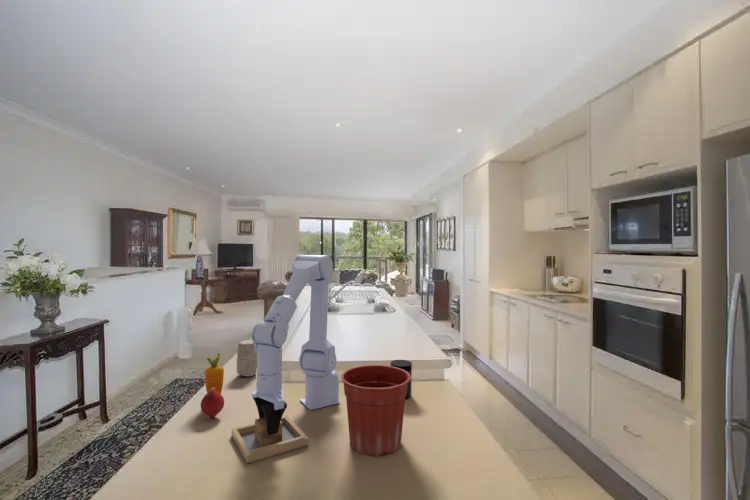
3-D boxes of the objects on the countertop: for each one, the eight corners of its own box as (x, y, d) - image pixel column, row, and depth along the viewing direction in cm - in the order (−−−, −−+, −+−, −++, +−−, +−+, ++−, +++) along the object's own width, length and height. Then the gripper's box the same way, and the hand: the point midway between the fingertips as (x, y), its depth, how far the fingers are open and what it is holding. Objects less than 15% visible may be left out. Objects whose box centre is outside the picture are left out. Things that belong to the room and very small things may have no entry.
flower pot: (331, 433, 96) (332, 368, 95) (391, 421, 102) (391, 361, 102) (354, 469, 80) (355, 392, 80) (422, 452, 87) (423, 382, 87)
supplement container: (413, 400, 116) (414, 366, 116) (391, 401, 115) (392, 366, 115) (409, 391, 123) (409, 359, 123) (388, 392, 122) (388, 359, 122)
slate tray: (286, 422, 101) (286, 413, 101) (308, 445, 89) (308, 436, 89) (231, 436, 93) (231, 427, 93) (247, 464, 82) (247, 453, 82)
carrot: (205, 410, 108) (205, 357, 107) (204, 403, 112) (204, 352, 112) (224, 407, 110) (224, 354, 110) (222, 400, 114) (222, 350, 114)
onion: (215, 423, 100) (215, 393, 100) (195, 421, 101) (195, 391, 101) (228, 414, 106) (228, 385, 105) (209, 412, 107) (209, 383, 107)
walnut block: (275, 432, 95) (275, 414, 95) (282, 441, 91) (282, 422, 91) (254, 438, 92) (254, 419, 92) (261, 447, 88) (261, 427, 88)
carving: (261, 374, 138) (262, 341, 137) (242, 380, 132) (242, 345, 132) (252, 370, 142) (252, 338, 142) (233, 375, 136) (233, 342, 136)
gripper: (244, 366, 95) (243, 420, 95) (261, 384, 83) (261, 446, 83) (272, 361, 99) (271, 414, 99) (293, 378, 87) (292, 438, 87)
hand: (269, 428), depth 91 cm, fingers closed on walnut block, 5 cm apart
